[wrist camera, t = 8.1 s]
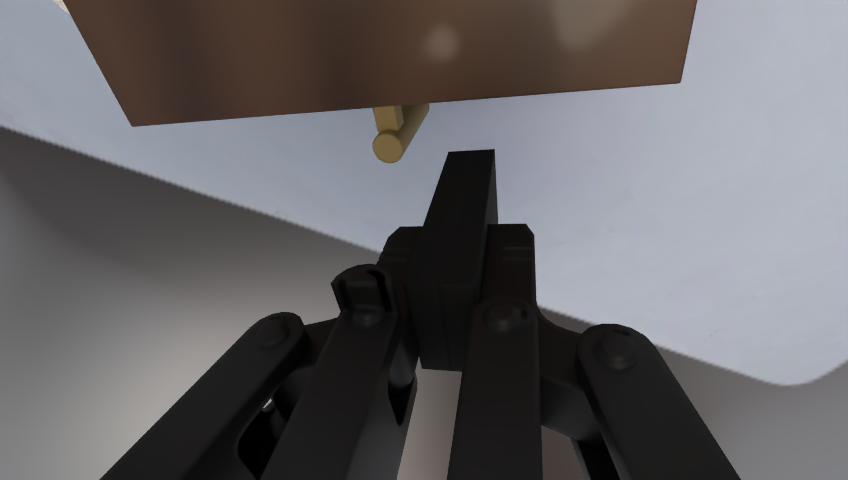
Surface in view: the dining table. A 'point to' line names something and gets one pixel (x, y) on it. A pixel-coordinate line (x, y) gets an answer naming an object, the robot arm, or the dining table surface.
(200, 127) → the dining table surface
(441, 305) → the robot arm
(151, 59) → the cabinet
